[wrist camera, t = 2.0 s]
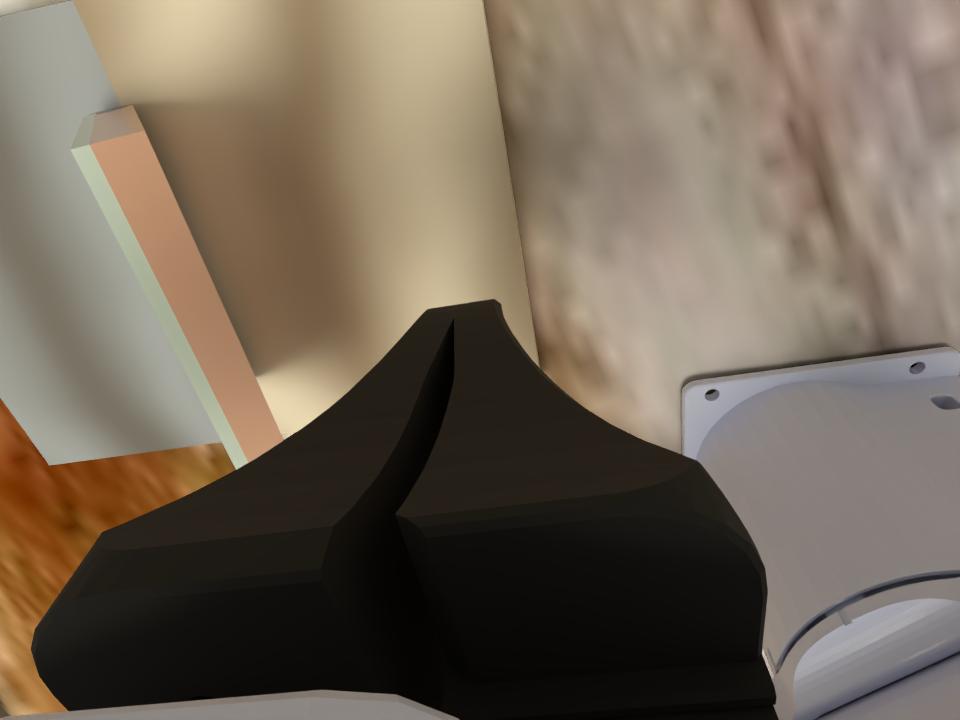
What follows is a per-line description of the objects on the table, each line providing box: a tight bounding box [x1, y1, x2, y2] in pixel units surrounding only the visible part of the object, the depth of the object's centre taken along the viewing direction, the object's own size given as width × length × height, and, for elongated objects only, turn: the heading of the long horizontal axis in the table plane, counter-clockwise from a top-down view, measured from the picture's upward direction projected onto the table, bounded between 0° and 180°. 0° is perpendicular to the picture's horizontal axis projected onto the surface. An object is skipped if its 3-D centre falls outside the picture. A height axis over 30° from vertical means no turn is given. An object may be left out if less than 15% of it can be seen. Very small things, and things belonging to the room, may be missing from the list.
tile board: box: [0, 0, 540, 465], centre depth 20 cm, size 19×14×2 cm
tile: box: [70, 105, 284, 470], centre depth 16 cm, size 8×9×1 cm
